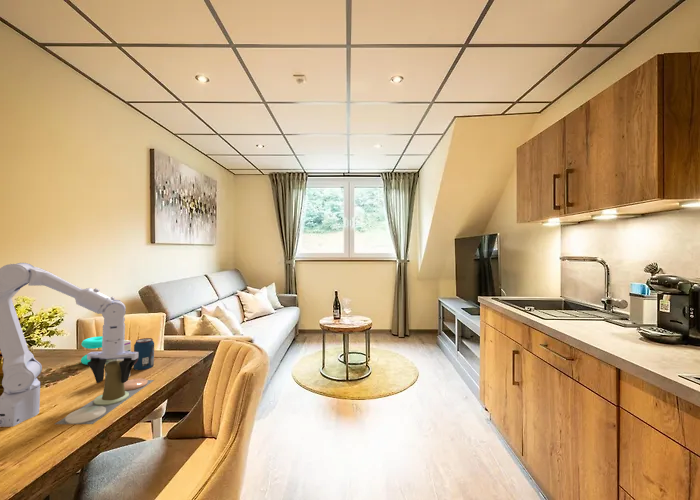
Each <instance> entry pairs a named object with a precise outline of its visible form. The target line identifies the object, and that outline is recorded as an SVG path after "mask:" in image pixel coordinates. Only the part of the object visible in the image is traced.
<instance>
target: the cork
mask: <svg viewBox="0 0 700 500" xmlns="http://www.w3.org/2000/svg"><path fill="white" fill-rule="evenodd" d="M119 362H121V361H112V362H109V363H107V364H106V365H105V367H104V373H105V372H106V373H107V374H106V379H104V385H103V391H102V394H103V396H102V399H103V400H115V399H118V398H121V397H123V396H124V395H125V387H124V383H121V368H120V365H119Z"/></svg>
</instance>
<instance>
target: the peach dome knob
mask: <svg viewBox="0 0 700 500" xmlns="http://www.w3.org/2000/svg"><path fill="white" fill-rule="evenodd" d="M148 380H149V379H146V378H132V379H128V381H126V382H125V383H124V387H125V391H128V390H134V389H138V388H141V387H143V386H145V385H147V383H148ZM147 386H148V385H147Z"/></svg>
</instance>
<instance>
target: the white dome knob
mask: <svg viewBox="0 0 700 500" xmlns="http://www.w3.org/2000/svg"><path fill="white" fill-rule="evenodd" d="M105 413H106V408H105V407H103V406H91V407H86V408H82V409H80V408H79V410H78V409H76V410H75V411H72V412H70V413H69V414H67V415H66V416H65V417H66V418H65V417H64V418H65V422H66V423H68V424H67V425H81V424H80V423H85V422H89V421H92V420H95V419H97V418H99V417H101V416H103V415H104V414H105ZM103 417H104V416H103Z"/></svg>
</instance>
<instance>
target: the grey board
mask: <svg viewBox="0 0 700 500" xmlns="http://www.w3.org/2000/svg"><path fill="white" fill-rule="evenodd" d="M147 380H148V383H147V385H145V386H143V387H141V388H138V389H134V390H128V391H126V392H128V393H129V397H128V398H127V399H125V400H124V401H121V402H119V403H115V404H111V405H104V406H103V407H105V408H106V413H105V414H104V415H103V416H101V417H99V418H97V419H95V420H92V421H89V422H85V423H80V424H79V425H94V424H95V423H96V422H97V421H99V420H101V419H102V418H104V416H106V415H108V414H109V413H110V412H112V411H113V410H115V409H116V408H117V407H119V406H120V405H122V404H123V403H124V402H125V401H127V400H129V399H130V398H132V397H133V396H134V395H136V394H138V393H139V392H140V391H141V390H143V389H144V388H145V387H147V386H149V385H150V384H151V383H152V382H154V381H155V379H150V380H149V379H147ZM91 406H99V405H95V404H94V399H93V400H91V401H90V402H88V403H86V404H85V405H83V406H81V407H79V409H82V408H86V407H91ZM79 409H77V410H79ZM65 418H66V416H65V417H64V418H62V419H60V420H59V421H57V422H55V423H54V425H69V424H68V423H66V422H65Z"/></svg>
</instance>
